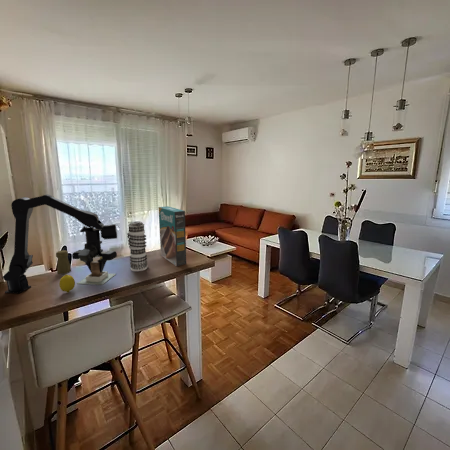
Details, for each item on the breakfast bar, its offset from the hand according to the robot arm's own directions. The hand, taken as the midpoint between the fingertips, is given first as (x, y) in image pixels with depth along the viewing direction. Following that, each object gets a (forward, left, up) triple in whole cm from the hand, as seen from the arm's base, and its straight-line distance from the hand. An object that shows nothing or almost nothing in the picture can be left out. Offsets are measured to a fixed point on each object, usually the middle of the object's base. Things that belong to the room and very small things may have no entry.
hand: (96, 272), depth 117 cm
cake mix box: (+28, +30, -4) cm, 41 cm away
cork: (-22, +7, -4) cm, 23 cm away
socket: (0, 0, -4) cm, 4 cm away
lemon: (-4, -14, -4) cm, 15 cm away
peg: (0, 0, -2) cm, 2 cm away
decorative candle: (+14, +15, -4) cm, 21 cm away
